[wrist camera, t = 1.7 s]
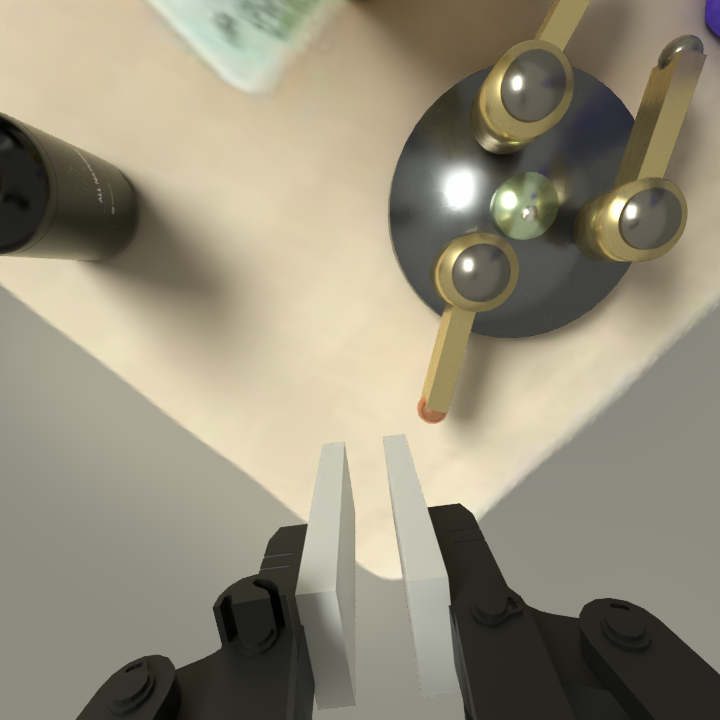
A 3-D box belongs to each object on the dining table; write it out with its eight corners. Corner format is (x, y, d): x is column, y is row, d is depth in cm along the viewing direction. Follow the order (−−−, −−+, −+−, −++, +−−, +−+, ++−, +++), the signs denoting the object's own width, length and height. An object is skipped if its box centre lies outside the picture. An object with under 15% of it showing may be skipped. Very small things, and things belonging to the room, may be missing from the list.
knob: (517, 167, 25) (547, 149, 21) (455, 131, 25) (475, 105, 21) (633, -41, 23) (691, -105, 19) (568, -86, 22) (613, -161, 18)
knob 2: (627, 268, 26) (674, 268, 23) (563, 253, 26) (600, 251, 22) (700, 61, 24) (768, 20, 20) (631, 42, 24) (685, -3, 20)
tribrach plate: (422, 41, 25) (430, 15, 23) (674, 107, 26) (709, 89, 24) (363, 306, 29) (364, 310, 26) (587, 355, 30) (609, 364, 27)
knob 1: (439, 230, 26) (454, 223, 22) (505, 245, 26) (531, 242, 22) (394, 408, 28) (401, 430, 24) (455, 420, 29) (471, 444, 25)
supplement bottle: (159, 193, 27) (13, 137, 16) (114, 279, 28) (-53, 287, 17) (64, 131, 26) (-167, 21, 15) (22, 223, 28) (-223, 189, 16)
